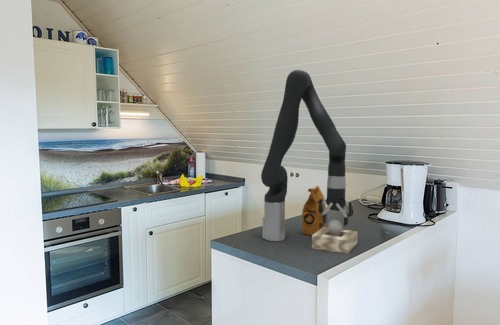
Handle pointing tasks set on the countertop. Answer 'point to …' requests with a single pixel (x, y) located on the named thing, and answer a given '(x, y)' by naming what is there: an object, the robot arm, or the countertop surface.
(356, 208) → the countertop surface
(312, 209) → the coffee package
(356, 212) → the countertop surface
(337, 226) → the lightbulb
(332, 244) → the block
